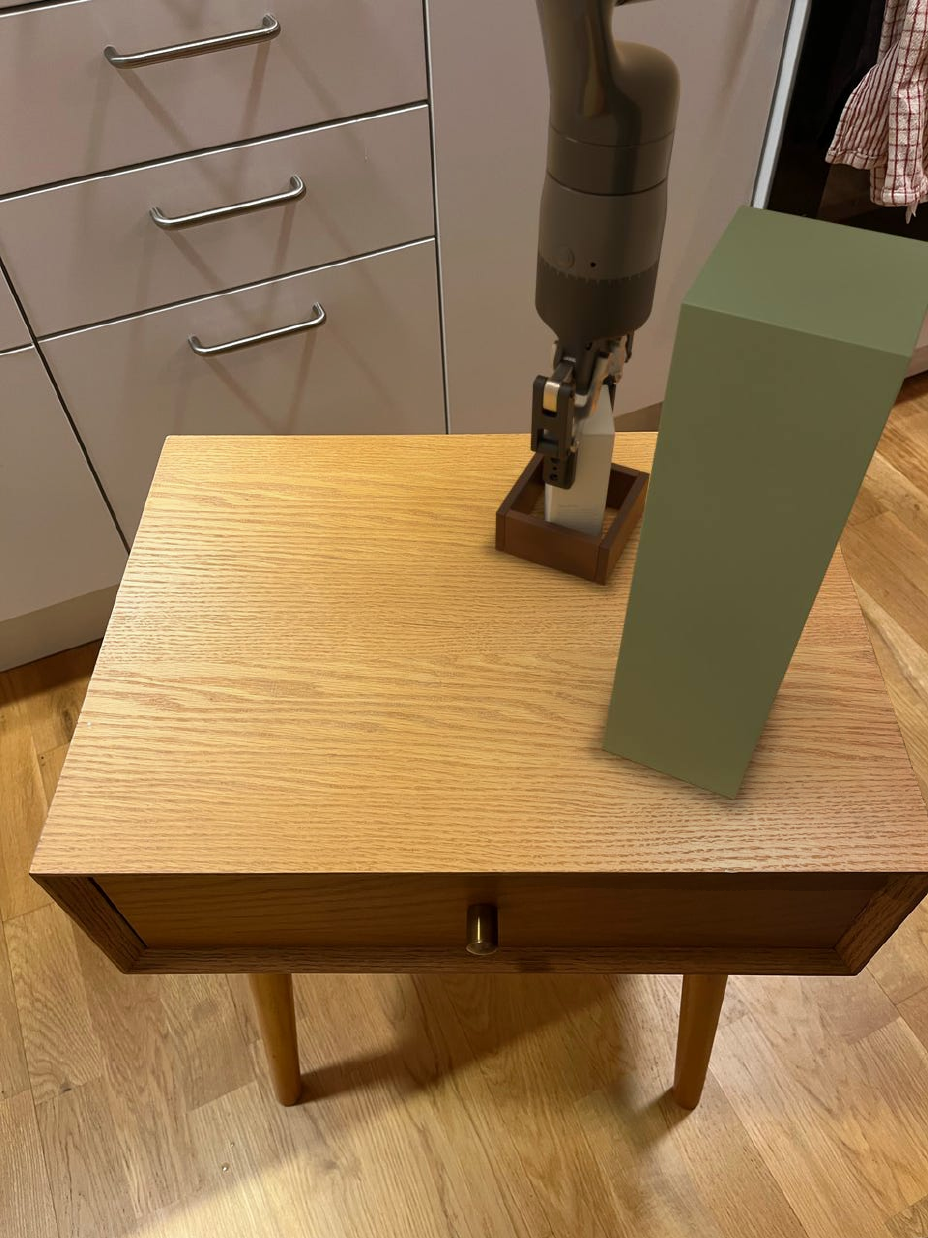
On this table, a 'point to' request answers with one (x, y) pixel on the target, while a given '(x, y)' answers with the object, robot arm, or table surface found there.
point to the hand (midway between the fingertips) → (578, 452)
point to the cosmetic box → (586, 474)
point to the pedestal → (756, 478)
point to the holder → (565, 544)
